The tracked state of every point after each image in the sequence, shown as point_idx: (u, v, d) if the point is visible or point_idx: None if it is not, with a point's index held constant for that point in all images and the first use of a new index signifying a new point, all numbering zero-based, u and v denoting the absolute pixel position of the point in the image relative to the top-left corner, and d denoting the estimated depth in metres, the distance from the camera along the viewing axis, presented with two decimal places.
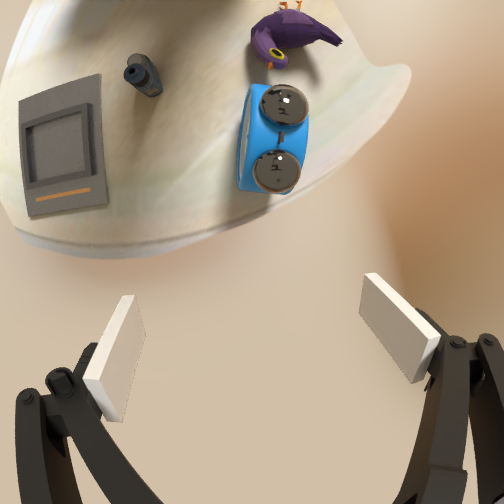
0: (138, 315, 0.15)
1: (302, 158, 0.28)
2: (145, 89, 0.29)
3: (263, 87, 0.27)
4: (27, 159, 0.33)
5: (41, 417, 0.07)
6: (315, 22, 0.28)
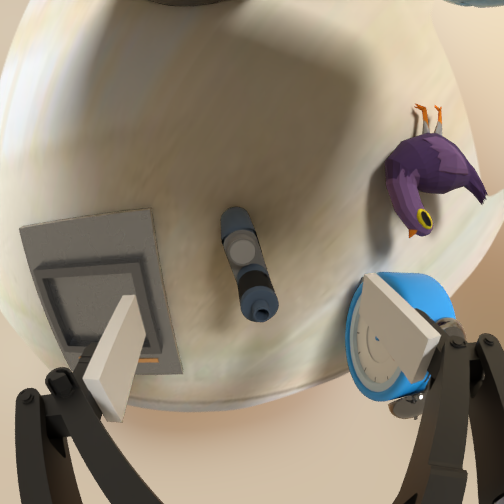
0: (138, 315, 0.15)
1: None
2: None
3: (420, 306, 0.21)
4: (56, 318, 0.26)
5: (41, 417, 0.07)
6: (467, 164, 0.21)
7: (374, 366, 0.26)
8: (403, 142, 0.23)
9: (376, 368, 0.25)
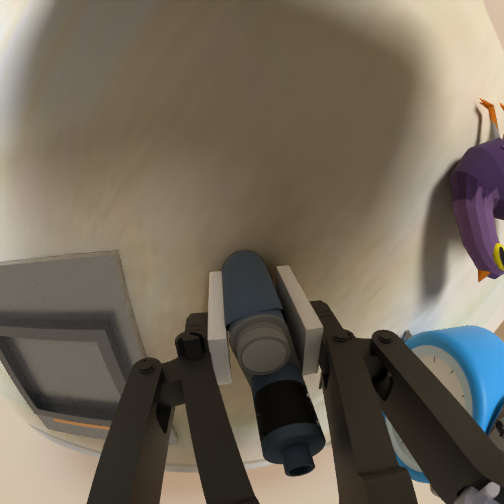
0: None
1: None
2: None
3: (490, 384, 0.12)
4: (18, 380, 0.17)
5: (156, 391, 0.09)
6: None
7: None
8: (476, 149, 0.14)
9: None
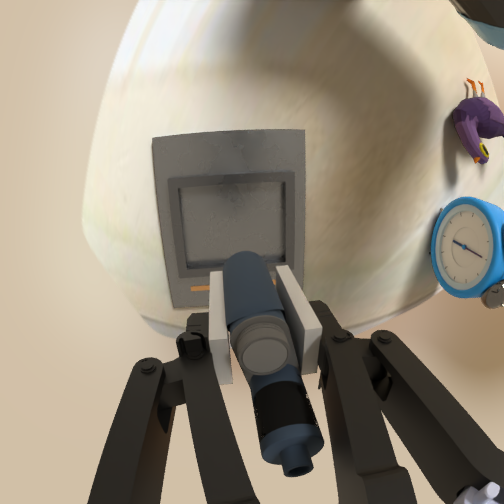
0: None
1: None
2: None
3: (494, 213, 0.25)
4: None
5: (157, 391, 0.09)
6: None
7: (463, 271, 0.30)
8: (464, 100, 0.27)
9: (466, 271, 0.29)
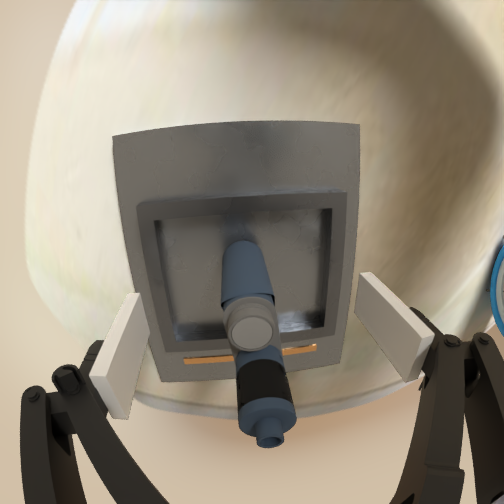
0: (143, 313, 0.15)
1: None
2: None
3: None
4: (165, 295, 0.19)
5: (47, 415, 0.07)
6: None
7: None
8: None
9: None
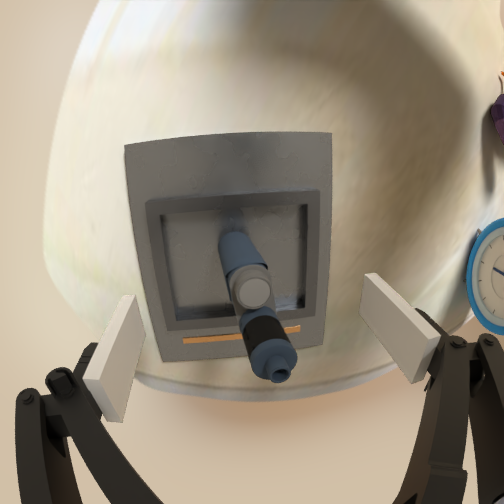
0: (138, 315, 0.15)
1: None
2: None
3: None
4: (168, 278, 0.22)
5: (41, 417, 0.07)
6: None
7: None
8: (503, 94, 0.19)
9: None
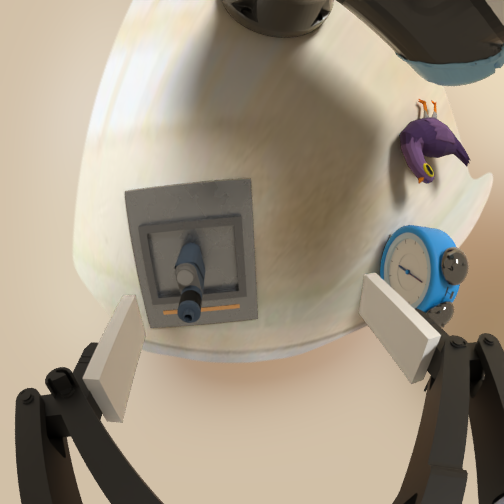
0: (138, 315, 0.15)
1: (452, 301, 0.32)
2: None
3: (435, 241, 0.31)
4: (152, 271, 0.36)
5: (41, 417, 0.07)
6: (454, 138, 0.32)
7: (406, 294, 0.36)
8: (411, 122, 0.33)
9: (409, 294, 0.36)
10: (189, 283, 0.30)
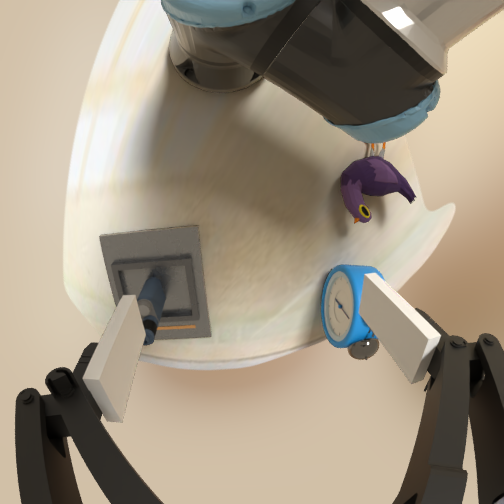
0: (138, 315, 0.15)
1: None
2: None
3: (361, 284, 0.38)
4: None
5: (41, 417, 0.07)
6: (399, 176, 0.38)
7: (338, 325, 0.43)
8: (353, 162, 0.40)
9: (340, 326, 0.43)
10: (147, 314, 0.37)
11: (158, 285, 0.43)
